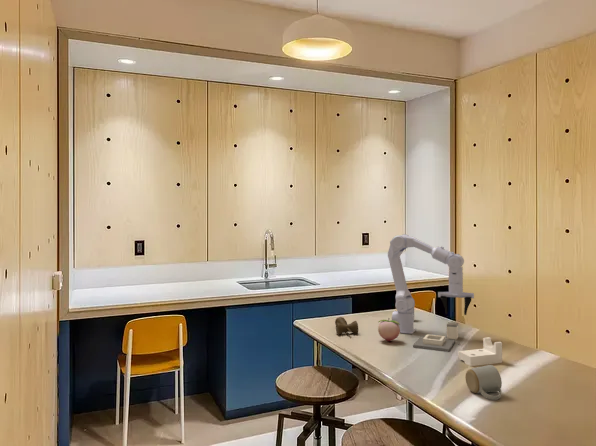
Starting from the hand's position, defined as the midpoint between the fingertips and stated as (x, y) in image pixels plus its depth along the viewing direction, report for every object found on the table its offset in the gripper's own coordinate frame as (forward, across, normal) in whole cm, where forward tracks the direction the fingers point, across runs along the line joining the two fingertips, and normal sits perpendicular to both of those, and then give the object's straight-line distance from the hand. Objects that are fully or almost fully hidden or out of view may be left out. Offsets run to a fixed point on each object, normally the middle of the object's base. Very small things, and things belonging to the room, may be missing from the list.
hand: (455, 314), depth 199 cm
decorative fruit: (+11, -28, -12) cm, 32 cm away
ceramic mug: (+10, +5, -61) cm, 62 cm away
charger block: (+10, -1, 0) cm, 10 cm away
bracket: (+11, +6, -31) cm, 33 cm away
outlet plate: (+10, -9, -13) cm, 19 cm away
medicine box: (+11, -22, +27) cm, 36 cm away
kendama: (+11, -48, 0) cm, 49 cm away
